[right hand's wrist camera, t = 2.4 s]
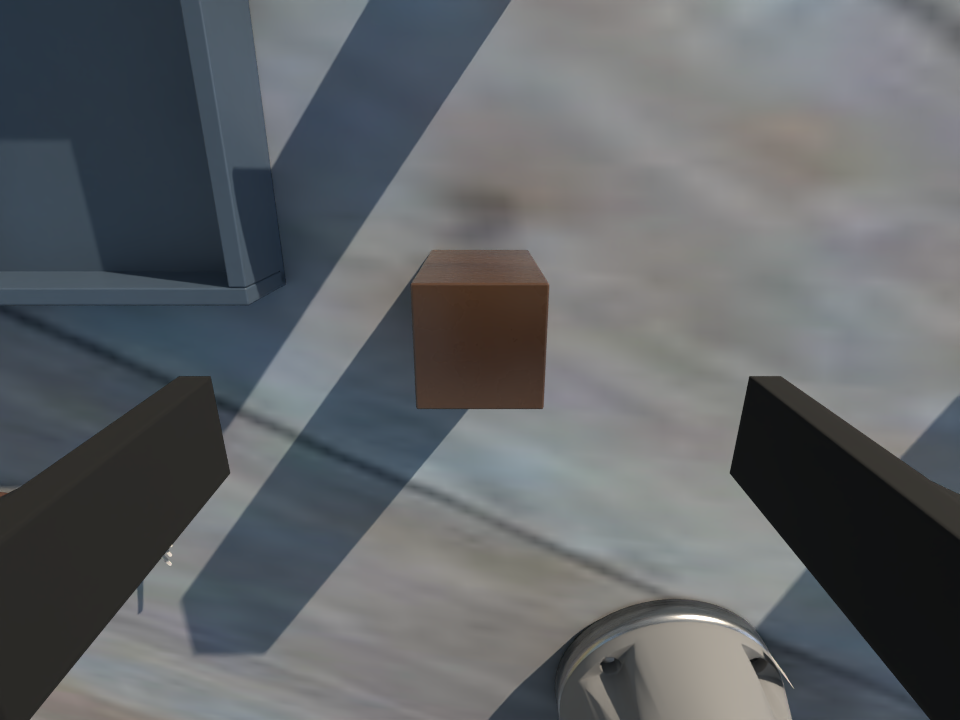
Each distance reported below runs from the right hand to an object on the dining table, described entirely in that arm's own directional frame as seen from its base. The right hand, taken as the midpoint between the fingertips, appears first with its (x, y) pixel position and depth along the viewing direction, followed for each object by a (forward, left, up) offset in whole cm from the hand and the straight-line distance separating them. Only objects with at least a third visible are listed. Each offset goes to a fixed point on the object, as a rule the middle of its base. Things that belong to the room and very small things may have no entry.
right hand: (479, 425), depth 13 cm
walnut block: (0, 0, -15) cm, 15 cm away
